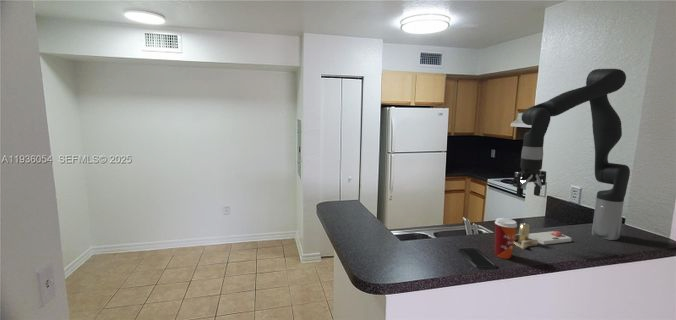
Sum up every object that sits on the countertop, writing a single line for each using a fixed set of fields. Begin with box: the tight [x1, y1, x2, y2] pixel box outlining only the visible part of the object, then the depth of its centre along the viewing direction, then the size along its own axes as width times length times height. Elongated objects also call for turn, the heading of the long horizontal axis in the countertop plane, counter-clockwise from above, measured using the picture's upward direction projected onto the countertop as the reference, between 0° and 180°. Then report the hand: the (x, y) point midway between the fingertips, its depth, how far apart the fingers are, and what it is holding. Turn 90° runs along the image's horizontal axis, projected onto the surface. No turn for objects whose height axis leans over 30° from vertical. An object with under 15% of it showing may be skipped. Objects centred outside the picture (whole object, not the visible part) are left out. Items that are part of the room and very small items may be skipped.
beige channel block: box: [514, 233, 539, 250], centre depth 131 cm, size 7×8×3 cm
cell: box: [517, 222, 531, 244], centre depth 130 cm, size 4×4×8 cm
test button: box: [553, 230, 563, 237], centre depth 135 cm, size 3×3×4 cm
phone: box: [458, 247, 498, 270], centre depth 117 cm, size 8×1×15 cm
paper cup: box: [494, 217, 518, 260], centre depth 119 cm, size 8×8×14 cm
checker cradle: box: [528, 230, 572, 245], centre depth 134 cm, size 14×8×3 cm, turn 104°
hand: (528, 196), depth 129 cm, fingers open, 8 cm apart
